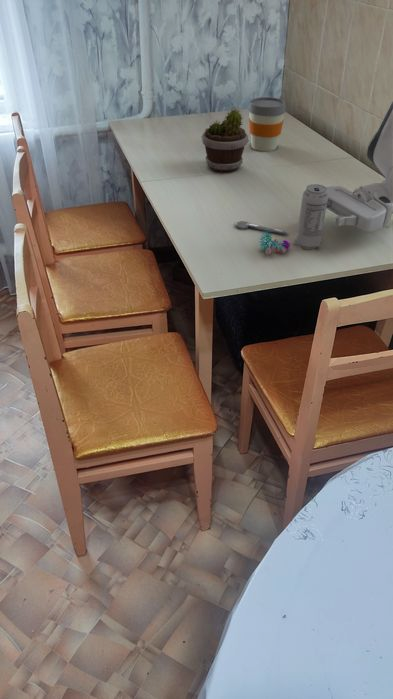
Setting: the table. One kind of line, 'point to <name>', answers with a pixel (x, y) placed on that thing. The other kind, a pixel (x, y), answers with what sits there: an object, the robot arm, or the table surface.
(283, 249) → the anatomy model
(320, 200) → the energy drink can
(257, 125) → the reusable coffee cup
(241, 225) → the grey flat-headed rod tool
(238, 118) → the flowerpot
